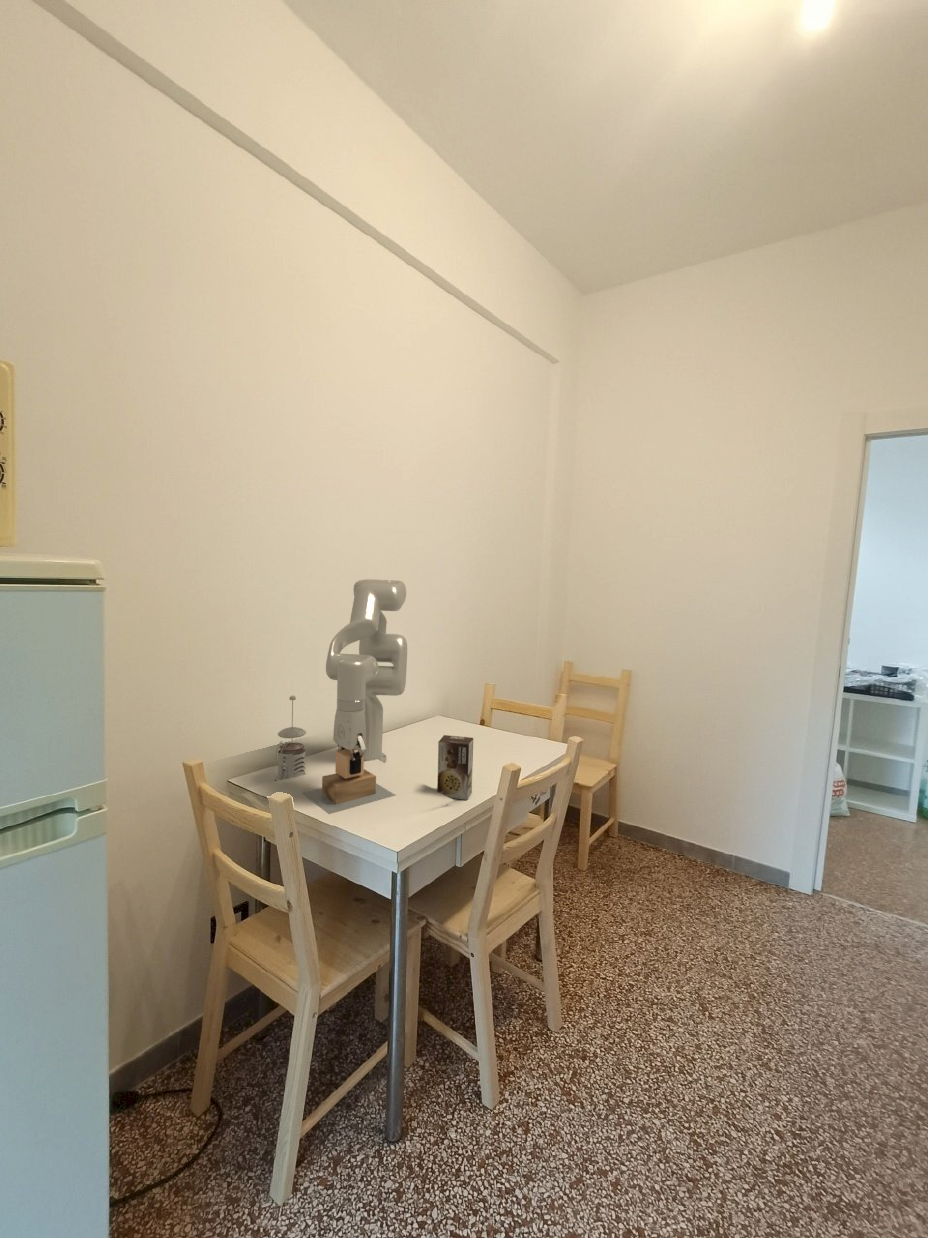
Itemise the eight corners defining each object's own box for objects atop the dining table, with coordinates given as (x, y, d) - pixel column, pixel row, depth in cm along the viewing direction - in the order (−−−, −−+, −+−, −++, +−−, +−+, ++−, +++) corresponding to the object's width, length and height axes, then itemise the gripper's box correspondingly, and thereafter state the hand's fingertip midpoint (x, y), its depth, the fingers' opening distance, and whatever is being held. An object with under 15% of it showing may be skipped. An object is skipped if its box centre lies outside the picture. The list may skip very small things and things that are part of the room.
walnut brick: (322, 794, 148) (322, 776, 148) (360, 784, 156) (361, 767, 155) (336, 804, 142) (336, 786, 142) (375, 793, 150) (376, 776, 149)
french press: (314, 774, 166) (316, 693, 164) (293, 788, 155) (294, 702, 153) (286, 770, 169) (287, 690, 167) (263, 783, 158) (264, 698, 155)
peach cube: (335, 772, 149) (335, 751, 148) (353, 768, 152) (353, 747, 152) (345, 778, 145) (345, 756, 144) (363, 774, 148) (363, 752, 148)
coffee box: (472, 791, 158) (474, 737, 156) (467, 800, 151) (469, 744, 150) (442, 787, 160) (444, 734, 158) (435, 796, 153) (438, 740, 152)
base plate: (301, 798, 149) (301, 793, 148) (365, 782, 162) (365, 777, 162) (328, 819, 137) (329, 814, 136) (395, 800, 150) (395, 795, 149)
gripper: (323, 700, 151) (322, 763, 152) (354, 713, 138) (353, 783, 140) (347, 696, 156) (346, 758, 157) (380, 709, 143) (378, 776, 144)
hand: (349, 769), depth 148 cm, fingers closed on peach cube, 5 cm apart
